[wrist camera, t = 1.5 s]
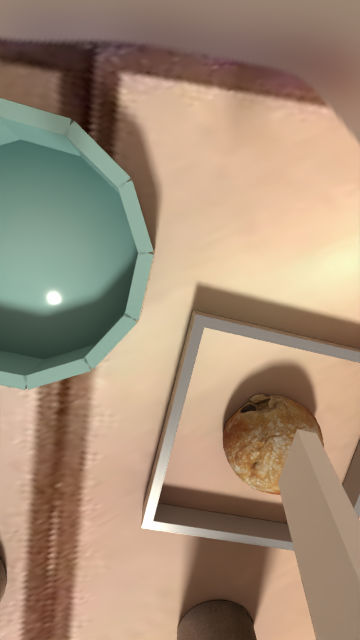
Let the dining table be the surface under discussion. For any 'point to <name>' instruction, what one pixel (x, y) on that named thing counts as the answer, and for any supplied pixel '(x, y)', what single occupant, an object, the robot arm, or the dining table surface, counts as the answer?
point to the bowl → (64, 249)
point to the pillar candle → (216, 622)
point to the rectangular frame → (161, 515)
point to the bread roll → (265, 438)
